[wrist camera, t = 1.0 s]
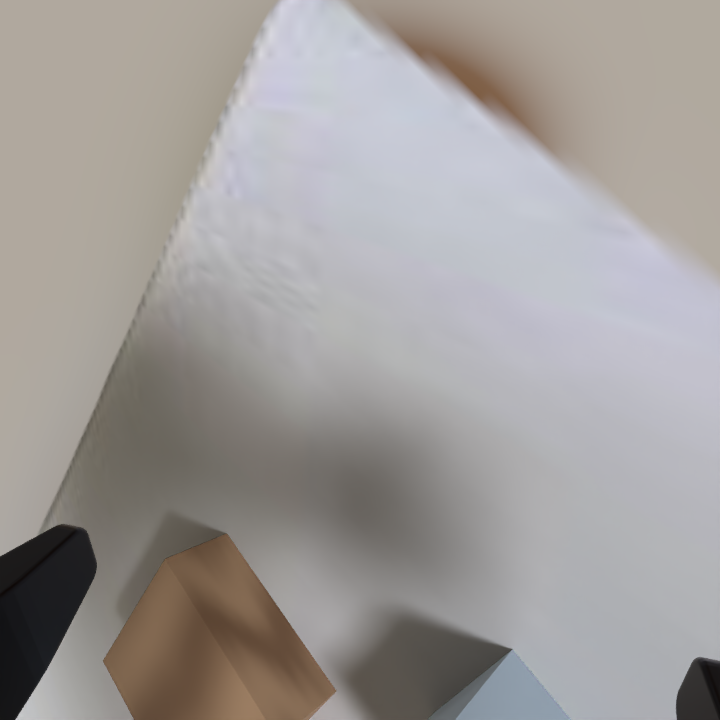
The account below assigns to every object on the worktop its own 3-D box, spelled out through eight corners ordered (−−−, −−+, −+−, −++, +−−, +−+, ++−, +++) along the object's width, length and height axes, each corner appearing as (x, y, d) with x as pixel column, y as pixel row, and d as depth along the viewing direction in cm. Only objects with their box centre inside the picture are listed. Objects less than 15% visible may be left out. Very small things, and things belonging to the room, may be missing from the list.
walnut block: (340, 687, 27) (278, 740, 24) (255, 774, 31) (192, 828, 28) (231, 531, 31) (165, 558, 27) (167, 627, 35) (102, 660, 31)
